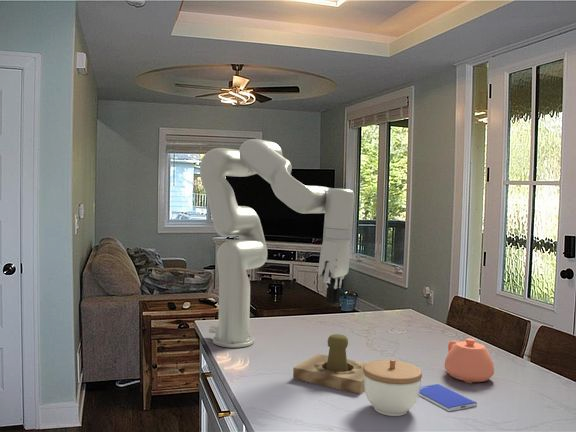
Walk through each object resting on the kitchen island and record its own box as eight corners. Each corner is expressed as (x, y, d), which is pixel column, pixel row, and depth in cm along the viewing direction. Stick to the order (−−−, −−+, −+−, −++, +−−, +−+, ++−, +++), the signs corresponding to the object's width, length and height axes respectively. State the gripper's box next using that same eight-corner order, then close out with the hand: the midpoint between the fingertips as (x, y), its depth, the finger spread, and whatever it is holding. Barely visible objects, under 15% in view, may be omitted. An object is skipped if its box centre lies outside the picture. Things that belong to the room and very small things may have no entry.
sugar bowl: (469, 389, 135) (470, 348, 135) (429, 371, 148) (431, 334, 147) (504, 382, 141) (506, 342, 140) (463, 366, 153) (465, 329, 153)
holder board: (293, 379, 138) (293, 367, 138) (317, 364, 150) (317, 353, 150) (360, 393, 130) (360, 381, 129) (380, 377, 142) (380, 365, 142)
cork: (351, 375, 142) (352, 333, 142) (345, 383, 137) (346, 339, 136) (328, 372, 144) (329, 330, 144) (321, 379, 139) (323, 336, 138)
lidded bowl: (408, 426, 112) (410, 373, 112) (352, 412, 119) (354, 361, 118) (427, 407, 123) (430, 358, 122) (375, 394, 130) (377, 348, 129)
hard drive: (413, 387, 132) (449, 406, 121) (439, 383, 136) (477, 401, 124) (412, 394, 132) (449, 414, 121) (439, 389, 136) (476, 408, 125)
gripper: (336, 231, 155) (332, 295, 157) (312, 234, 142) (307, 304, 144) (361, 234, 152) (356, 300, 153) (338, 238, 139) (333, 309, 140)
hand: (332, 302), depth 148 cm, fingers closed
